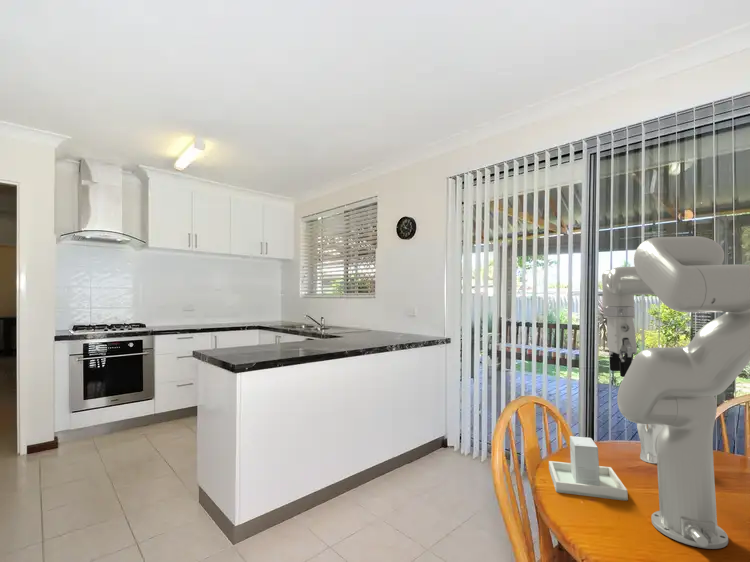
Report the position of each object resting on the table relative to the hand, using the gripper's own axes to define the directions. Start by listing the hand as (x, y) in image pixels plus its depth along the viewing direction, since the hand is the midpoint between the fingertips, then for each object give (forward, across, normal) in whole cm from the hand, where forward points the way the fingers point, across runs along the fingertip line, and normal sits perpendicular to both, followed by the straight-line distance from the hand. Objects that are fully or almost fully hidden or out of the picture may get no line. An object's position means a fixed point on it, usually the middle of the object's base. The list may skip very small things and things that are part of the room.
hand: (621, 373), depth 110 cm
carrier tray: (+28, -8, +12) cm, 32 cm away
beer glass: (+29, +15, -11) cm, 34 cm away
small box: (+28, -8, +12) cm, 31 cm away
